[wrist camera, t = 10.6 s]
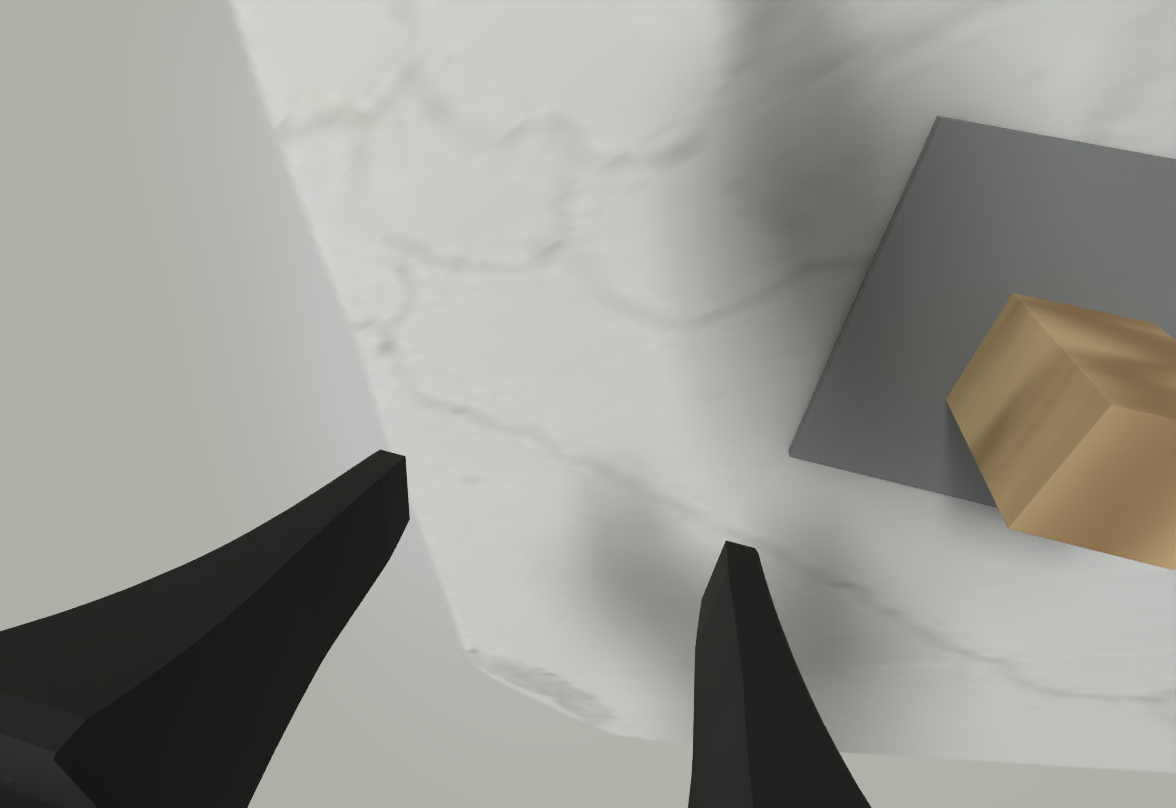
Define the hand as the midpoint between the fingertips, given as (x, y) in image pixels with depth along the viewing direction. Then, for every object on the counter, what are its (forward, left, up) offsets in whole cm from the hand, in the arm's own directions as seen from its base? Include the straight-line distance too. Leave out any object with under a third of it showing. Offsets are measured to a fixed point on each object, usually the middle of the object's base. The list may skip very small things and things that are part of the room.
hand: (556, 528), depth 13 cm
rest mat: (-13, -2, -10) cm, 17 cm away
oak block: (-13, -2, -10) cm, 17 cm away
